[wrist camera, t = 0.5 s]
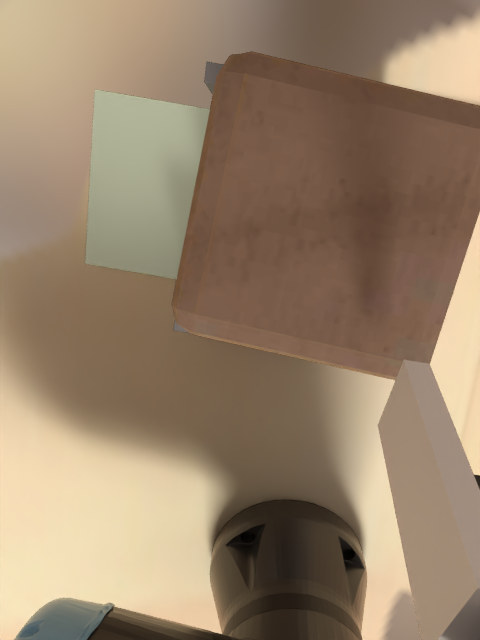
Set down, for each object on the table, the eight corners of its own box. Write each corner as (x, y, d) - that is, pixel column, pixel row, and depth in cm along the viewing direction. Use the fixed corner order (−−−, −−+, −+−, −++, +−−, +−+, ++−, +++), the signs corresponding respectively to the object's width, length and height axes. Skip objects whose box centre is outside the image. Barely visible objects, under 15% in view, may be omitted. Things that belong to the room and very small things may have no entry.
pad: (194, 281, 37) (193, 282, 37) (86, 263, 37) (85, 263, 37) (217, 110, 33) (216, 110, 33) (96, 90, 33) (94, 89, 33)
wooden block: (239, 145, 34) (220, 31, 14) (368, 175, 34) (528, 105, 14) (211, 275, 36) (161, 334, 16) (333, 303, 36) (431, 395, 16)
